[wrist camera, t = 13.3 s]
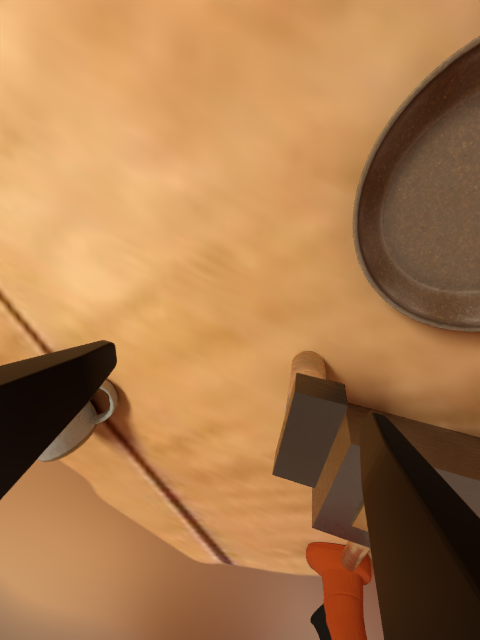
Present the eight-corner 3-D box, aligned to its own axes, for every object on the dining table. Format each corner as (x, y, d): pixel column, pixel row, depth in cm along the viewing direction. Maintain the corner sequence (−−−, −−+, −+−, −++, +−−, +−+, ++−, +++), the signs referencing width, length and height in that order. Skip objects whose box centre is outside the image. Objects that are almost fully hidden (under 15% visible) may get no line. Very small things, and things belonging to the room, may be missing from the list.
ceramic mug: (75, 420, 36) (20, 472, 29) (41, 371, 33) (-29, 415, 26) (134, 412, 32) (87, 470, 25) (101, 357, 29) (38, 404, 23)
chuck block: (495, 441, 21) (540, 502, 17) (399, 557, 30) (413, 615, 26) (344, 402, 23) (351, 447, 19) (296, 521, 32) (294, 569, 28)
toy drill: (222, 543, 36) (188, 744, 22) (363, 537, 32) (429, 785, 18) (233, 563, 38) (208, 763, 24) (369, 560, 33) (434, 805, 20)
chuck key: (336, 332, 21) (348, 406, 13) (314, 399, 24) (315, 488, 17) (301, 325, 21) (294, 392, 14) (284, 392, 24) (272, 474, 17)
